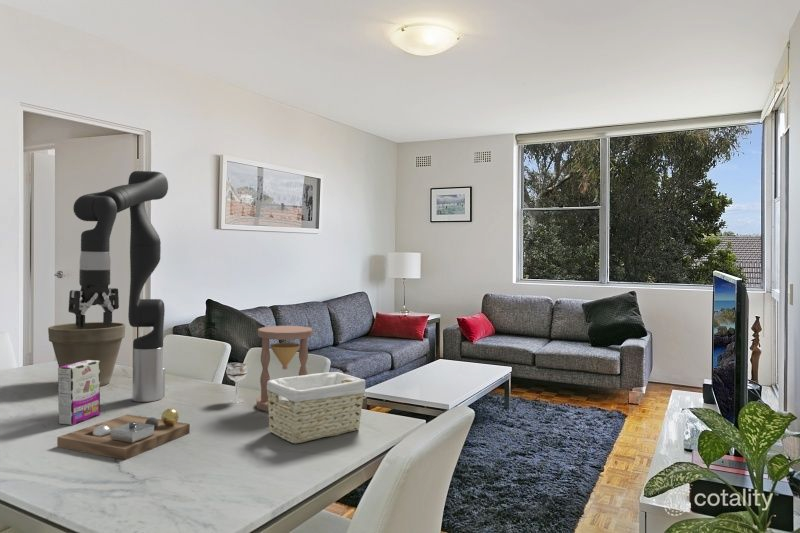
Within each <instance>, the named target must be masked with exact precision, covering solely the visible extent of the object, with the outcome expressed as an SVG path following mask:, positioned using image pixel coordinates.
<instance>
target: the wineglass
mask: <svg viewBox="0 0 800 533" xmlns="http://www.w3.org/2000/svg"><path fill="white" fill-rule="evenodd" d="M226 367H227V368H226V375H227V378H229V379H230V380H232V381H234V383H235V398H234V399H230V400H228V403H230V404H240V403H243V402H245V400H244V399H241V398H238V392H239V391H238V389H239V387H238V386H239V383H240V381H242V380H243V379H245V377H246V376H247V375H248V368H247V367H248V364H247V363H241V362H237V363H235V362H234V363H229V364H226Z"/></svg>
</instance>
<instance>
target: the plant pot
mask: <svg viewBox="0 0 800 533" xmlns="http://www.w3.org/2000/svg"><path fill="white" fill-rule="evenodd" d="M47 331H48V341H49V342H51V345H52V347H53V351H54V354H55V358H56V362H57V366H58V367H62V366H66V365H69V364H73V363H77V362H81V361H85V360H96V361H100V387H101V386H105V385H108V384H110V382H111V380H112V376H113V373H114V370H115V368H116V367H115V365H116V362H117V359H118V355H119V351H120V347H121V345H122V341H123V339H124V338H125V336H126V324H125V323H123V322H113V321H112V323H111V325H104V324H103V321H98V322H97V321H95V322H94V321H93V322H92V321H91V322H88V321H87V322H85V328H84V329H78V328H77V327H76V322H74V323H63V324H55V325H51V326H49V327H48V328H47Z"/></svg>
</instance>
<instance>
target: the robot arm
mask: <svg viewBox="0 0 800 533" xmlns="http://www.w3.org/2000/svg"><path fill="white" fill-rule="evenodd" d="M168 191H169V181H168V179H167V177H166V175H165V174H164V173H162V172H159V171H156V170H155V171H152V170H151V171H149V170H148V171H147V170H142V171H141V170H134V171H132V172H131V173H130V175H129V176H128V182H127V184H122V185H118V186H114V187H111V188H108V189H106V190H104V191H101V192H91V193H88V194H83V195H81V196H79V197H78V198H76V200H75V202H74V204H73V208H72V209H73V213H74V215H75V216H76V217H77V219H79V220H80V221H84V222H96V224H95V226H94V228H92V229H87V230H84V231H82V232H81V234H80V256H79V271H78V272H79V275H78V276H79V278H78V279H79V280H78V282H79V285H80V289H79V290H76V289H74V290H73V289H71V290H70V291H69V297H68V298H69V299H68V312H69V313H72V314H74V315H75V323H76V327H77V328H78V329H84V328H85V323H86V312H87V311H88V309H90V308H91V306H96V305H98V306H100V307H101V309H102V310H103V316H102V318H103V319H102V320H103V321H102V322H103V324H104V325H111V323H112V322H113V313H114V310H118V309H119V307H120V303H119V302H120V300H119V299H120V298H119V289H118V288H115V287H112V288H111V287H109V285H111V256H110V251H111V250H110V242H111V241H110V238H111V234H112V230H113V227H114V224H115V222H116V219H117V215H118V213H120V212H122V211H123V212H124V210H127V209H129V214H130V235H129V236H130V237H129V238H130V240H129V260H130V261H129V264H130V265H129V269H130V276H129V277H130V281H129V283H130V285H129V295H128V297H129V299H128V323H129V326H130V327H133V328H152V330H150V332H148V333H147V334H144V335H142V336H139V337H136V338H134V339H133V341H132V392H131V394H132V395H131V396H132V400H131V401H134V402H139V403H146V402H147V403H148V402H155V401H159V400H161V399H162V398H164V397H165V396H166V395H165V394H166V393H165V392H166V390H165V389H166V369H165V367H164V324H165V303H164V300H162V299H161V298H152V299H151V298H145V299H144V298H141V293H142V290H143V288H144V286H145V284H146V282H147V281H148V279H149V278H150V276H151V275H152V274H153V273H154V271H155V270H156V269H157V267H158V266H159V263H160V262H161V254H162V253H161V251H162V250H161V238H160V235H159V234H158V231H157V230H156V229H155V227H154V226H153V223H152V222H151V221H150V218H149V217H148V214H147V209H146V202H151V201H155V200H156V201H157V200H162V199H163V198H165V197H166V196H167V194H168Z"/></svg>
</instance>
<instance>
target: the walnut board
mask: <svg viewBox="0 0 800 533" xmlns="http://www.w3.org/2000/svg"><path fill="white" fill-rule="evenodd" d="M148 418H149V417H146V416H140V415H134V414H125V415H121V416H119V417H115V418H112V419H109V420H106V421H103V422H100V423H96V424H94V425H93V424H92V425H91V426H87V427H85V428H81V429H77V430H75V431H72V432H69V433H66V434H63V435H60V436H57V437H56V438H57V440H56V442H57V443H56V444H57V448H62V449H65V450H66V449H67V450H71V451H77V452H82V453H88V454H92V455H98V456H104V457H108V458H115V459H119V460H125V461H126V460H127V459H130V458H133V457H135V456H138V455H140V454H142V453H145V452H147V451H150V450H152V449H154V448H157V447H159V446H162V445H164V444H166V443H169V442H171V441H174V440H176V439H179V438H181V437H183V436H186V435H188V433H189V434H190V428H191V425H190V423H186V422H179V421H177V422H176V423H175V424H173V425H170V426H169V425H165V424H164V423H163V422H162V420H161V419H159V418H156V419H157V420H158V426H157V427H156V428H155V429H154V435H151V436H149V437H146V438H144V439H141V440H138V441H136V442H133V443H131V442H125V441H119V440H114V439H110V438H111V434H110V435H107V436H104V437H95V436H92V434H93V431H94V429H95V428H96V427H98V426H100V425H107V426H108V427H110V429H113V428H116V427H119V426H122V425H125V424H128V423H131V422H138V423H144V424H145V422H146V420H147V419H148Z"/></svg>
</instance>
